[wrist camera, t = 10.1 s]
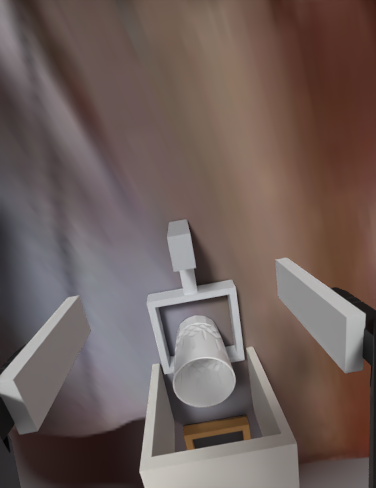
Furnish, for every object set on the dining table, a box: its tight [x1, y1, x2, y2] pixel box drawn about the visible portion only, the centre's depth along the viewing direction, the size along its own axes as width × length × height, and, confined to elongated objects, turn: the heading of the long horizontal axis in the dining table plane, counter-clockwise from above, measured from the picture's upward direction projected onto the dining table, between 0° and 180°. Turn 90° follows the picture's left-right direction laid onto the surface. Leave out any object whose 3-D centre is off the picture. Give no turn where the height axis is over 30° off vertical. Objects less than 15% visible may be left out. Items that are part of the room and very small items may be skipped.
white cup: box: [173, 315, 236, 408], centre depth 34 cm, size 8×8×10 cm
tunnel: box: [140, 347, 299, 488], centre depth 35 cm, size 14×17×15 cm
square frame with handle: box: [147, 219, 245, 374], centre depth 32 cm, size 24×13×9 cm, turn 10°
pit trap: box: [184, 415, 251, 451], centre depth 45 cm, size 8×12×2 cm, turn 100°
